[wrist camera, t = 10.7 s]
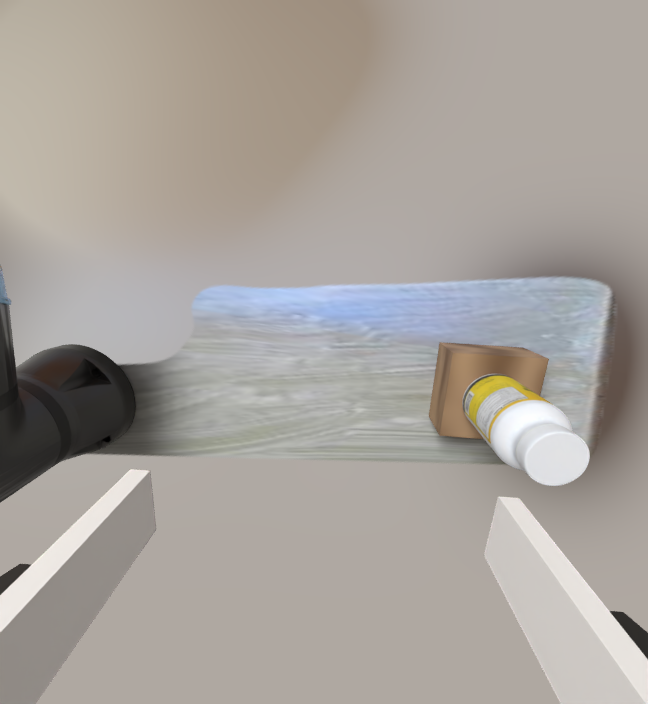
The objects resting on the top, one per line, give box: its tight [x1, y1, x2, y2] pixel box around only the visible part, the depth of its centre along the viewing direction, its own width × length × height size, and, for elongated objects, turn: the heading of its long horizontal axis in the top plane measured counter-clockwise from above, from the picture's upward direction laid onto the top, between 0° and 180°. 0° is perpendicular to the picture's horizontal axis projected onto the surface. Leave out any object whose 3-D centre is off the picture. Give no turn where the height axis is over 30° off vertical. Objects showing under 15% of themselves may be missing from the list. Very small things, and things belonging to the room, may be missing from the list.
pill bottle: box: [462, 374, 590, 486], centre depth 29 cm, size 6×6×12 cm
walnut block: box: [429, 342, 549, 439], centre depth 37 cm, size 10×10×5 cm
